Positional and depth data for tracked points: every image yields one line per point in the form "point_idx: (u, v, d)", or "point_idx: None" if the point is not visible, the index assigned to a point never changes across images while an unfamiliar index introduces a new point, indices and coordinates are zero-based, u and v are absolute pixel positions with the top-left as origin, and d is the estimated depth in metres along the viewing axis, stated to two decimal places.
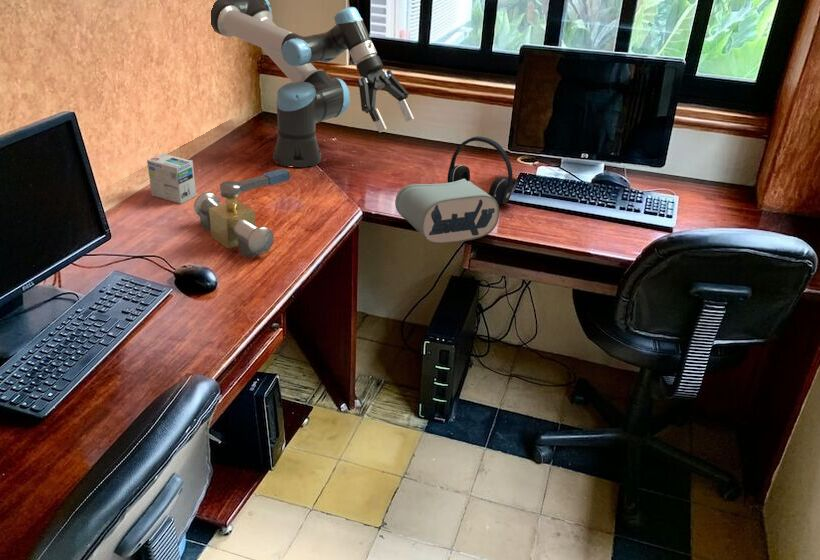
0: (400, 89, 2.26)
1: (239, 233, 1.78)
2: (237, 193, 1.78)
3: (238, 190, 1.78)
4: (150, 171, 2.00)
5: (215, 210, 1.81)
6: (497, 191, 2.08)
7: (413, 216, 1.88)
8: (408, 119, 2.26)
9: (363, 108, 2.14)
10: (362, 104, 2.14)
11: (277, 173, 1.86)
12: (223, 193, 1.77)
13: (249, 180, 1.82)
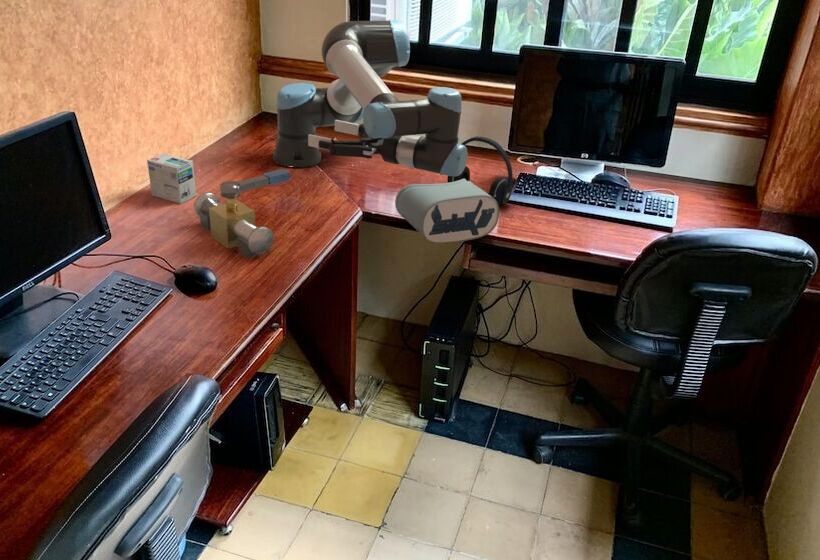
0: None
1: (239, 233, 1.78)
2: (237, 193, 1.78)
3: (238, 190, 1.78)
4: (150, 171, 2.00)
5: (215, 210, 1.81)
6: (497, 191, 2.08)
7: (413, 215, 1.88)
8: (336, 125, 1.85)
9: (331, 148, 1.69)
10: (337, 148, 1.69)
11: (277, 173, 1.86)
12: (223, 193, 1.77)
13: (249, 180, 1.82)
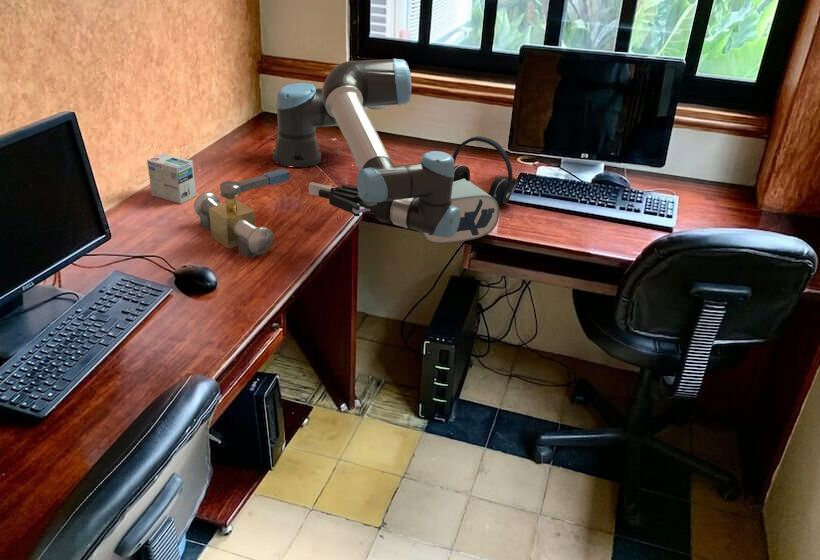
0: None
1: (239, 233, 1.78)
2: (237, 193, 1.78)
3: (238, 190, 1.78)
4: (150, 171, 2.00)
5: (215, 210, 1.81)
6: (497, 191, 2.08)
7: None
8: None
9: (330, 198, 1.77)
10: (334, 199, 1.76)
11: (277, 173, 1.86)
12: (223, 193, 1.77)
13: (249, 180, 1.82)
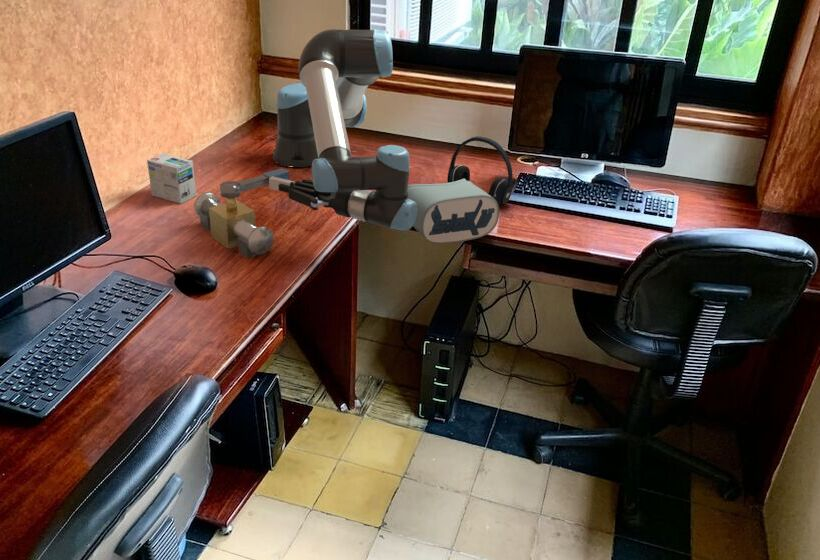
0: None
1: (239, 233, 1.78)
2: (237, 193, 1.78)
3: (238, 190, 1.78)
4: (150, 171, 2.00)
5: (215, 210, 1.81)
6: (497, 191, 2.08)
7: None
8: None
9: (289, 192, 1.79)
10: (292, 193, 1.78)
11: (277, 173, 1.86)
12: (223, 193, 1.77)
13: (249, 180, 1.82)
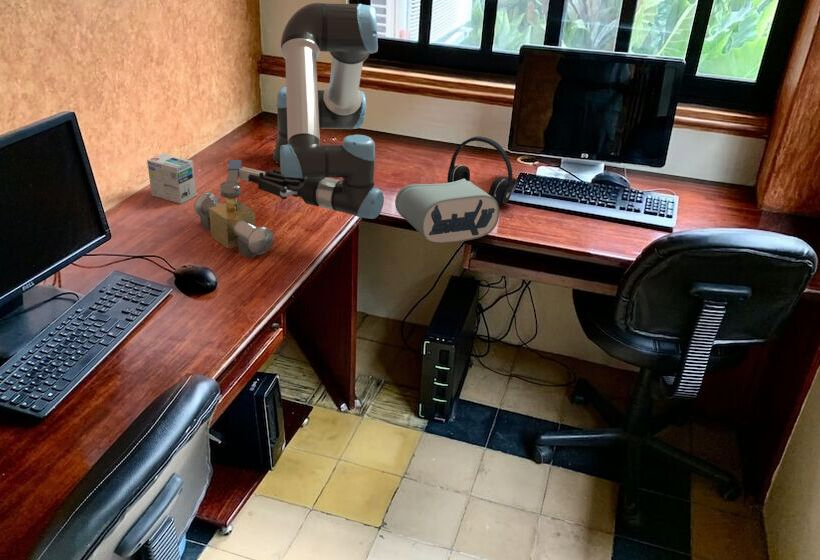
0: None
1: (239, 233, 1.78)
2: None
3: None
4: (150, 171, 2.00)
5: (215, 210, 1.81)
6: (497, 191, 2.08)
7: (413, 216, 1.88)
8: None
9: (258, 182, 1.82)
10: (262, 183, 1.82)
11: (236, 164, 1.90)
12: (232, 193, 1.77)
13: (231, 177, 1.83)
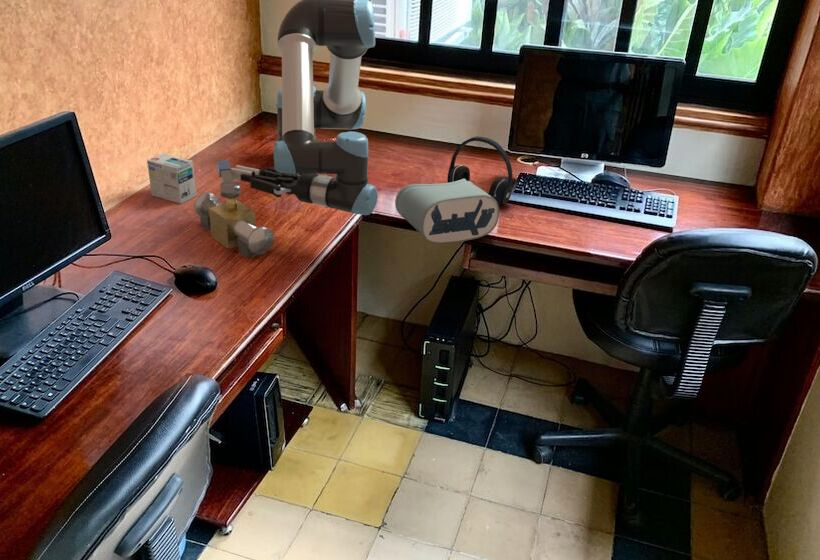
0: None
1: (239, 233, 1.78)
2: None
3: None
4: (150, 171, 2.00)
5: (215, 210, 1.81)
6: (497, 191, 2.08)
7: (413, 215, 1.88)
8: None
9: (251, 181, 1.83)
10: (254, 182, 1.82)
11: (225, 164, 1.89)
12: (234, 193, 1.77)
13: (226, 177, 1.83)
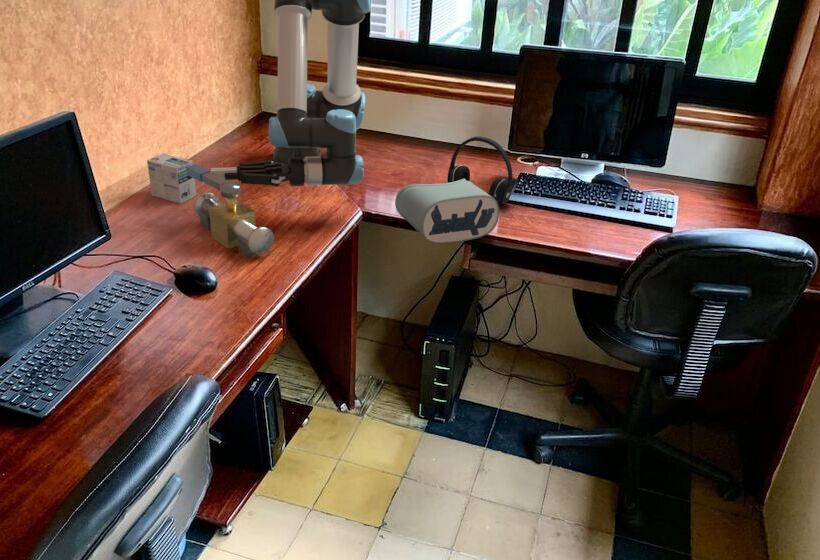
0: None
1: (239, 233, 1.78)
2: None
3: None
4: (150, 171, 2.00)
5: (215, 210, 1.81)
6: (497, 191, 2.08)
7: (413, 215, 1.88)
8: None
9: (242, 177, 1.85)
10: (247, 177, 1.85)
11: (199, 168, 1.86)
12: (238, 192, 1.78)
13: (215, 179, 1.81)
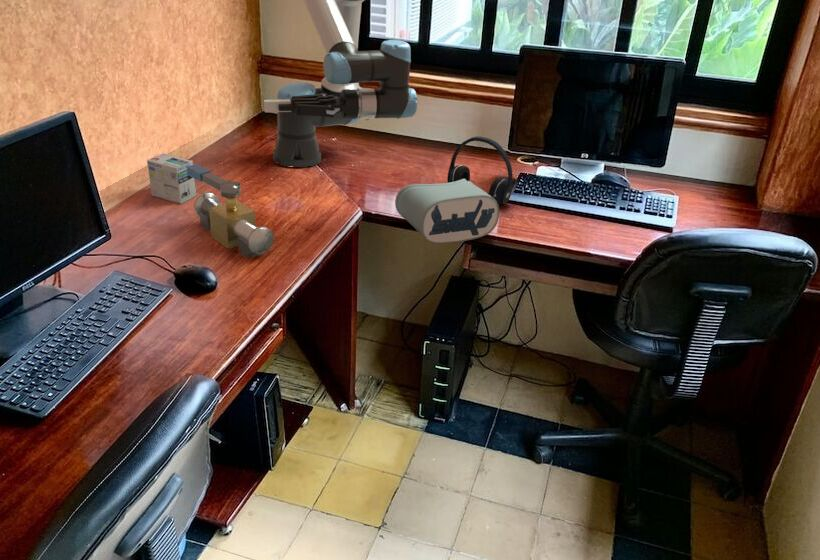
0: None
1: (239, 233, 1.78)
2: None
3: None
4: (150, 171, 2.00)
5: (215, 210, 1.81)
6: (497, 191, 2.08)
7: (413, 215, 1.88)
8: None
9: (297, 108, 1.82)
10: (302, 108, 1.82)
11: (200, 168, 1.86)
12: (238, 192, 1.78)
13: (215, 179, 1.81)
